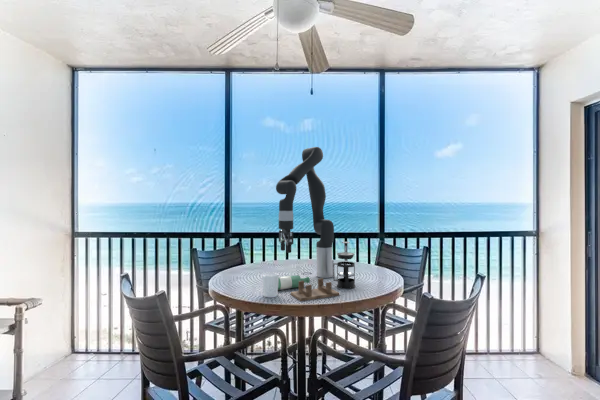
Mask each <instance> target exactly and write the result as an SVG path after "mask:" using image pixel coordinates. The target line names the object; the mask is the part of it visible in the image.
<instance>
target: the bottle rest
mask: <svg viewBox="0 0 600 400" xmlns="http://www.w3.org/2000/svg"><path fill="white" fill-rule="evenodd" d="M332 285H333V284H332V282H331V281H328V282H325V285H324V278H317V288H312V284H306V285H305V283H304V281H299V287H298V290H297V291H291V292H290V296H292V297H294V298H295V299H296V300H298V301H300V302H303V301H310V300H317V299H324V298H331V297H338V296H340V292H339V291H336V290H335V289H333V288H332Z"/></svg>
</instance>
